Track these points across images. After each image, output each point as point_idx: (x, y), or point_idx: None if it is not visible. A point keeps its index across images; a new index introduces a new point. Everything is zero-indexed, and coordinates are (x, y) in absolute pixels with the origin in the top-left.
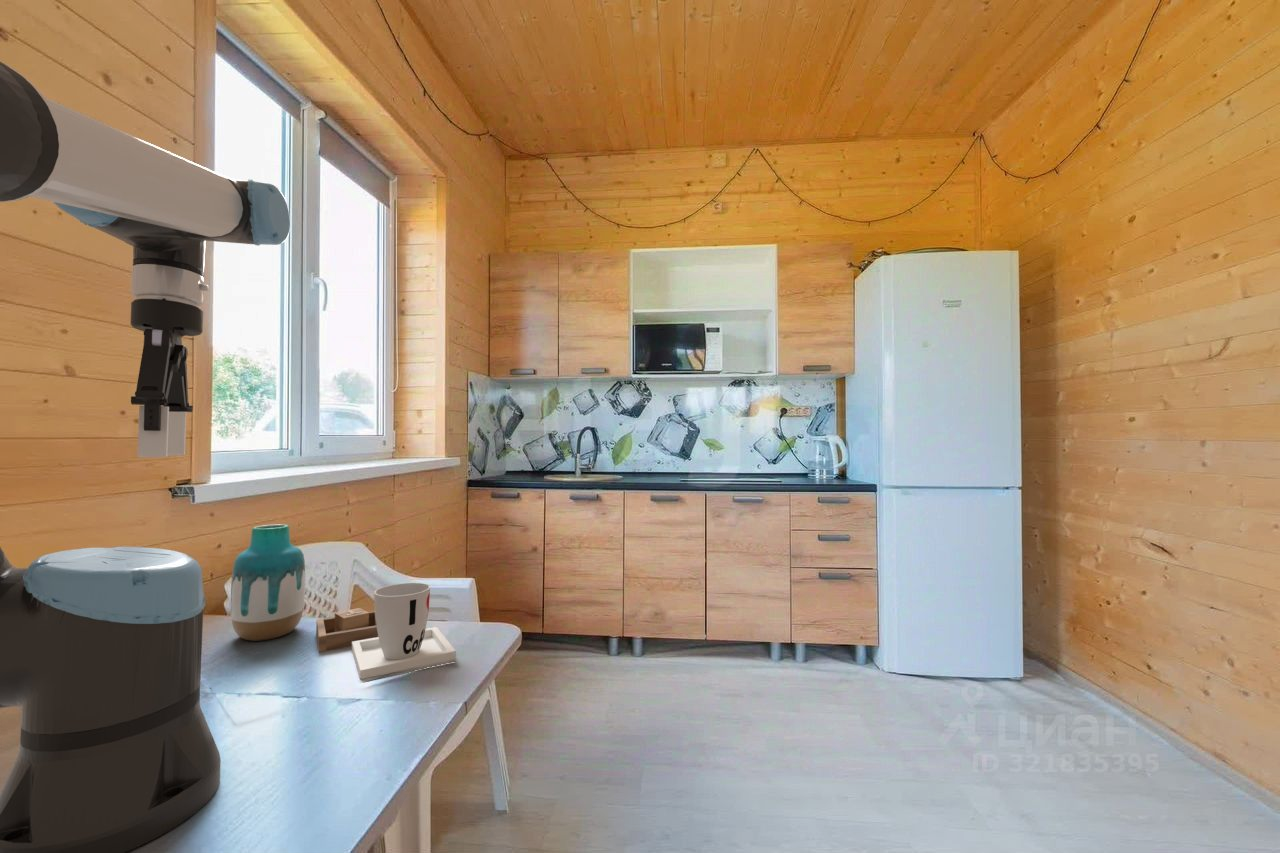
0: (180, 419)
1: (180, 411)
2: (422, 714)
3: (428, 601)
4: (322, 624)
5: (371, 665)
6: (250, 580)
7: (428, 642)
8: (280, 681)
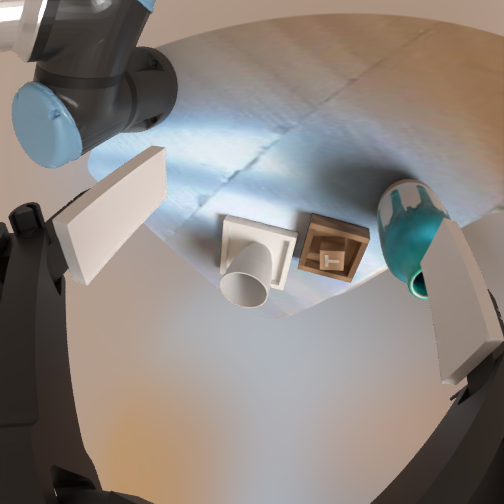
0: (445, 347)
1: (467, 377)
2: (161, 222)
3: (235, 293)
4: (348, 236)
5: (228, 228)
6: (394, 214)
7: None
8: (272, 176)
